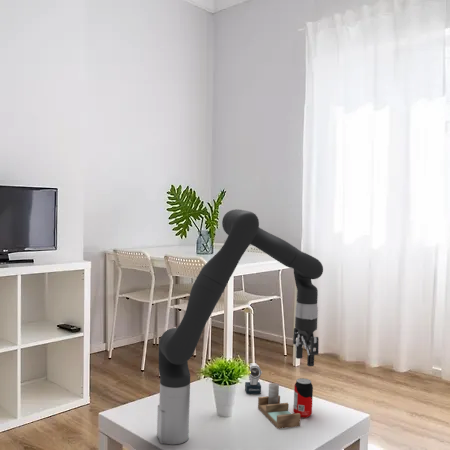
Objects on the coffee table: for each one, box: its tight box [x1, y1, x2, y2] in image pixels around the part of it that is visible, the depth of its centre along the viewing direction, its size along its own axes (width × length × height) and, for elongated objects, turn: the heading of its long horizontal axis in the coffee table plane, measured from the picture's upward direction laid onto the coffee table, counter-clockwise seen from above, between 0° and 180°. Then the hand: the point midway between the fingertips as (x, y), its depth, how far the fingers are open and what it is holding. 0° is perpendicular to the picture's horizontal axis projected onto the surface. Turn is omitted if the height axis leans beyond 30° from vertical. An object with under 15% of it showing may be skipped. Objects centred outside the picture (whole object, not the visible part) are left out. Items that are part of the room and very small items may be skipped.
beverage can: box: [292, 377, 314, 419], centre depth 177 cm, size 6×6×12 cm
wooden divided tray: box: [257, 382, 301, 429], centre depth 175 cm, size 8×17×10 cm, turn 18°
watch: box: [244, 362, 263, 395], centre depth 197 cm, size 6×8×11 cm
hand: (304, 362), depth 177 cm, fingers open, 8 cm apart
